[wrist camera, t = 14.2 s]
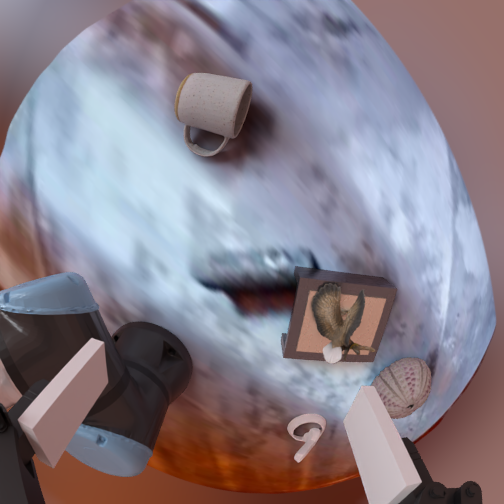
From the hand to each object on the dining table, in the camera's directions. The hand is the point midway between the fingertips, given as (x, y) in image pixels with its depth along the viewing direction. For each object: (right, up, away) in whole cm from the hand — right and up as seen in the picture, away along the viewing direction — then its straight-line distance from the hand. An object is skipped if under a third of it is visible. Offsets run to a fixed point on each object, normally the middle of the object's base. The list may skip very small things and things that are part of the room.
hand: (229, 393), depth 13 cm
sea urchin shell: (+28, -18, +33) cm, 47 cm away
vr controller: (+12, -27, +35) cm, 46 cm away
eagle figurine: (+12, -1, +24) cm, 27 cm away
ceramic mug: (-4, +25, +23) cm, 34 cm away
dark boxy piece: (+13, -2, +29) cm, 32 cm away
